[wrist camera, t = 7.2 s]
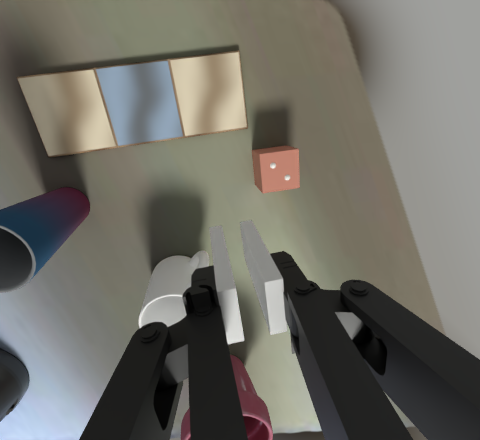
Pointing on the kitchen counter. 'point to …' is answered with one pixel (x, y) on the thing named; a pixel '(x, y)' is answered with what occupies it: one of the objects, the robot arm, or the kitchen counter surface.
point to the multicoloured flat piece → (136, 102)
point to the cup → (36, 233)
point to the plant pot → (243, 407)
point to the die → (276, 168)
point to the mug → (170, 288)
